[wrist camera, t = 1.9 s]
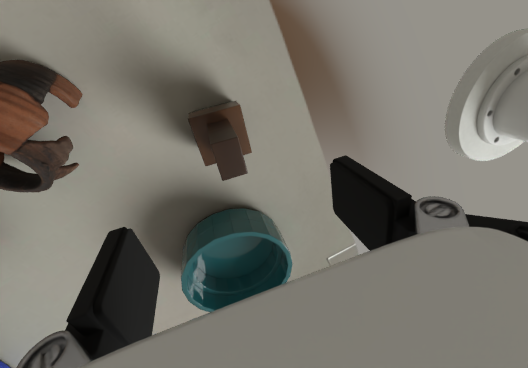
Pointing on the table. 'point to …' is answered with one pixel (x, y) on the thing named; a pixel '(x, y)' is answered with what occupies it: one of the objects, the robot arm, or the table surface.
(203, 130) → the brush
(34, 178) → the pottery mug
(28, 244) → the table surface
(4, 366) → the ink box
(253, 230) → the bowl
